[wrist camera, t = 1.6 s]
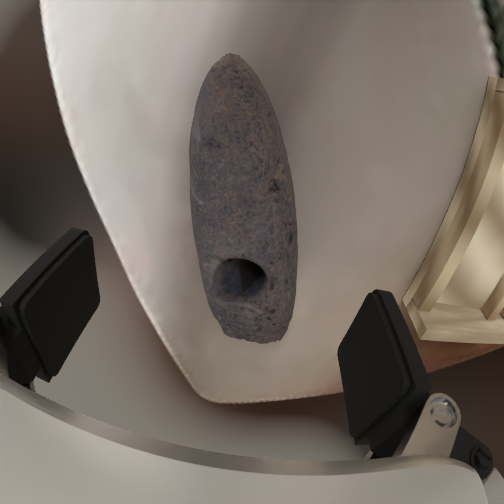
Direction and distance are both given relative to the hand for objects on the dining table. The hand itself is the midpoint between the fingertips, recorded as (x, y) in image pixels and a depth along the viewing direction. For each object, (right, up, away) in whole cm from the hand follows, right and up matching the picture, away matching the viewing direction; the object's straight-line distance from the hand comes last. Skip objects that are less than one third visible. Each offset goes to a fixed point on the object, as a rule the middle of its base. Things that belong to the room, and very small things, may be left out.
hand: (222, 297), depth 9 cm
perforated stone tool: (+1, +6, +8) cm, 10 cm away
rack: (+22, +4, +8) cm, 24 cm away
